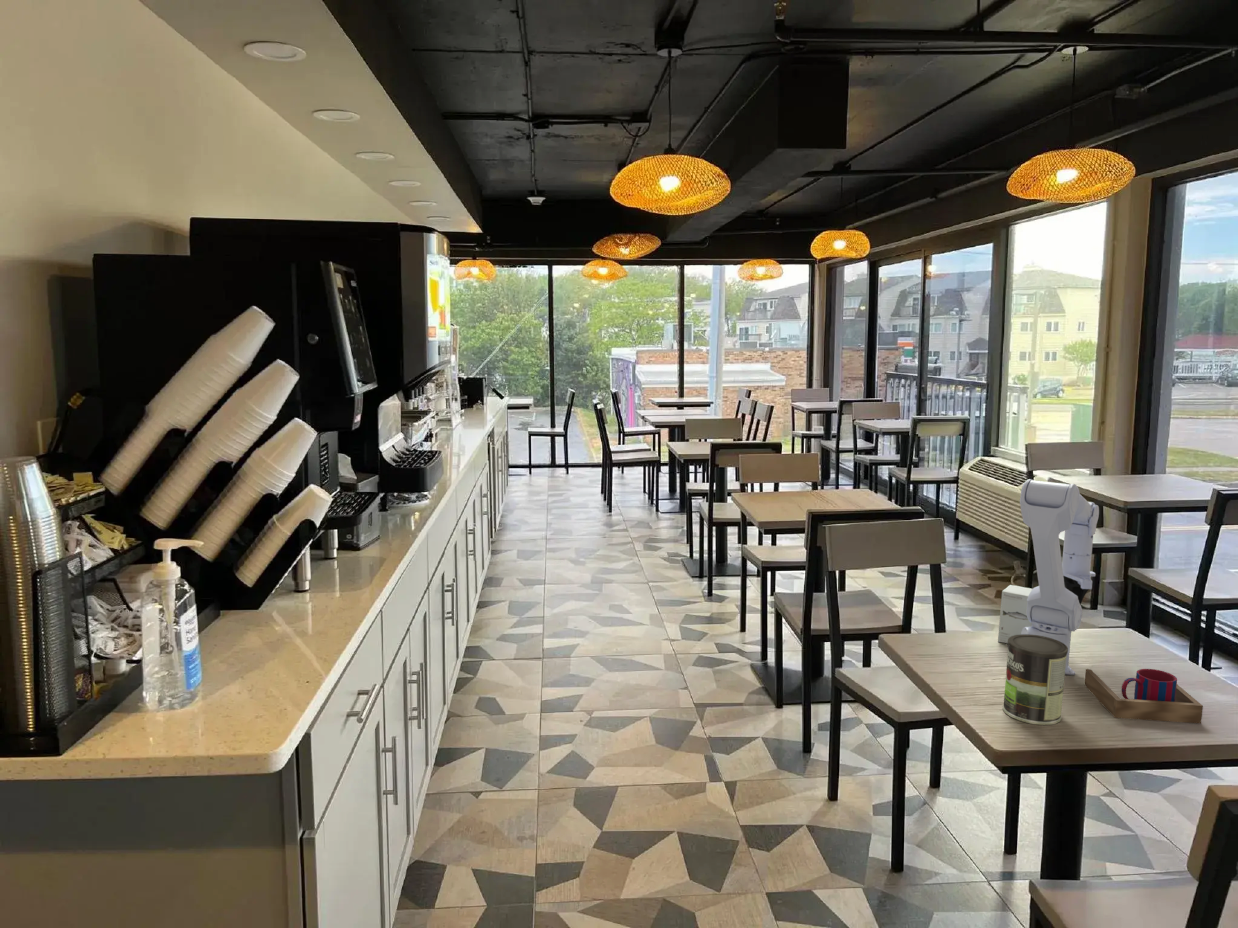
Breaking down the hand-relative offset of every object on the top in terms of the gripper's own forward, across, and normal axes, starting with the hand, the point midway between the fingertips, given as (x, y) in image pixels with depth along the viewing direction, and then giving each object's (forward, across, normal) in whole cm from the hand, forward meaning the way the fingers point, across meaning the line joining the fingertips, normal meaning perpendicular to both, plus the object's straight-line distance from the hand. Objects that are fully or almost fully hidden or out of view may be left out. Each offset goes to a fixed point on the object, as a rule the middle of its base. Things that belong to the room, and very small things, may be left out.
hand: (1072, 610), depth 197 cm
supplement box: (+10, +4, +10) cm, 14 cm away
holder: (+9, -29, -4) cm, 30 cm away
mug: (+10, -31, -4) cm, 33 cm away
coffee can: (+10, -37, +19) cm, 43 cm away
